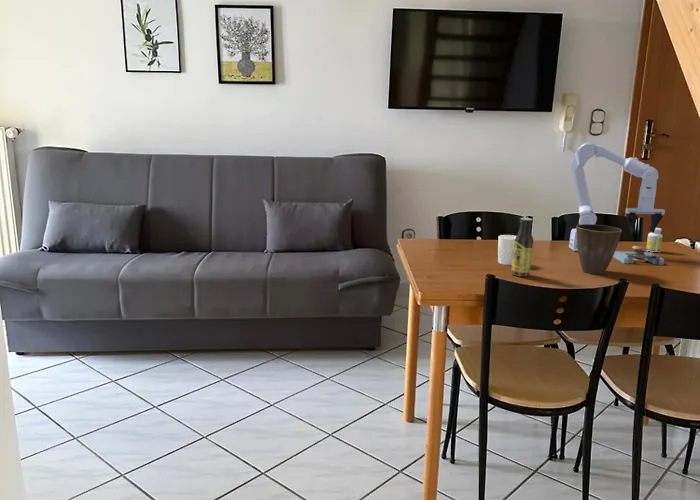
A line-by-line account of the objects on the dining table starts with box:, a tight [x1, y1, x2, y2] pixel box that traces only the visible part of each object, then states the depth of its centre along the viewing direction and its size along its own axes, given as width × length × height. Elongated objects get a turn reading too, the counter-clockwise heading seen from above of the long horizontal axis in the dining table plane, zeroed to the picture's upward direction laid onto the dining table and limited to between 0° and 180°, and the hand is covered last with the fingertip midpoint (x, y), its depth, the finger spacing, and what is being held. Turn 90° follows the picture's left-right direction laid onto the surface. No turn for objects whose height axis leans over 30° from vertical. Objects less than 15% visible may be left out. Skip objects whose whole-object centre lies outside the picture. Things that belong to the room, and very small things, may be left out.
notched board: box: [612, 250, 665, 266], centre depth 238 cm, size 15×13×2 cm
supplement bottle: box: [646, 227, 663, 253], centre depth 254 cm, size 5×5×10 cm
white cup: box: [497, 234, 517, 266], centre depth 226 cm, size 8×8×10 cm
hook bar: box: [627, 254, 661, 266], centre depth 232 cm, size 12×2×3 cm, turn 88°
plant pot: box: [575, 224, 623, 275], centre depth 216 cm, size 15×15×16 cm
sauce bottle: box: [511, 217, 534, 278], centre depth 208 cm, size 6×6×20 cm
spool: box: [632, 245, 648, 263], centre depth 237 cm, size 5×5×5 cm
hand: (642, 231), depth 243 cm, fingers open, 7 cm apart
